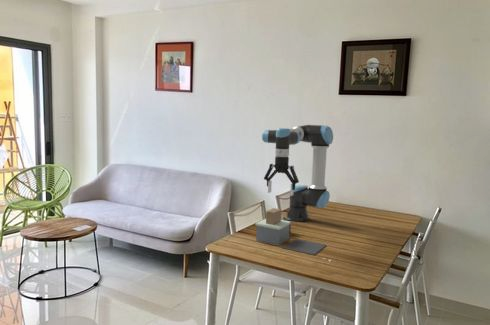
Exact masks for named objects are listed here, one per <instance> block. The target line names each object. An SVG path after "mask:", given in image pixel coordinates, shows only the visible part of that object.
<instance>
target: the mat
mask: <svg viewBox="0 0 490 325" xmlns="http://www.w3.org/2000/svg"><path fill="white" fill-rule="evenodd" d="M326 246H327V244H324V243H319V242H315V241H309V240H304V239H299V238H295V239H294V240H292V241H290V242H289V243H288V244H286V245H284V246H283V247H282V249H284V250H288V251H294V252H298V253H302V254H306V255H309V256H310V255H311V256H316V255H318V253H320V252H321V251H322V250H323V249H325V247H326Z"/></svg>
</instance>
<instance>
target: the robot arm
mask: <svg viewBox="0 0 490 325" xmlns="http://www.w3.org/2000/svg"><path fill="white" fill-rule="evenodd" d="M261 138H262V141H263V142H264V143H266V144H275V154H274V155H275V156H274V157H275V158H274V163H270V164H269V167H268V170H267V172H266V173H265V175H264V178H263V180H265V181H266V187H267V193H269V194H270V193H272V179H273V177H274V176H275V175H276V174H277V173H279V174H285V175H286V177H287V178H288V179H289V181H290V188H289V189H290V191H289V208H288V211H287V213H286V219H288V218H290V219H291V222H297V223H298V222H299V223H300V222H307V221H309V218H310V217H309V213H308V208H307V206H308V207H314V208H319V209H324V208H326V206H327V205H328V204H329V201H330V197H331V194H330V191H328V190H327V189H328V188H327V186H326V184H325V180H326V166H327V150H328V149H329V148H330V145H331V144H333V142H334V133H333V130H332V128H331V127H330V126H329V125H320V124H319V125H318V124H317V125H315V124H305V125H300V126H299V125H298V126H294V127H292V128H288V127H287V128H283V127H278V128H277V129H265V130H263V132H262V134H261ZM300 142H304V143H310V144H311V145H310V146H311V148H313V149H312V150H313V151H312V164H311V165H312V166H311V167H312V168H311V184H310V185H309V186H308V185H305V184H301V185H300V184H298V183H300V180H299V179H298V176H297V173H296V171H295V166H294V165H289V163H290V162H289V161H290V160H289V159H290V145H298V144H299V143H300ZM274 168H275V170H274V171H273V169H274ZM289 170H290V171H289ZM272 171H273V172H272ZM271 172H272V173H271ZM296 184H298V185H296Z"/></svg>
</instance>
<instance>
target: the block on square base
mask: <svg viewBox="0 0 490 325" xmlns="http://www.w3.org/2000/svg"><path fill="white" fill-rule="evenodd" d="M281 219H282V209H281V208H276V207H275V208H274V207H273V208H271V209H268V210H266V212H265V218H264V219H262V220H260V221H259V220H258V221H257V222H255V226H256V227H257V226H262V227H267V228H272V229H277V230H280V229H282V228H284V227H286V226H287V225H289V224H291V225H292V221H285V220H281Z"/></svg>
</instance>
